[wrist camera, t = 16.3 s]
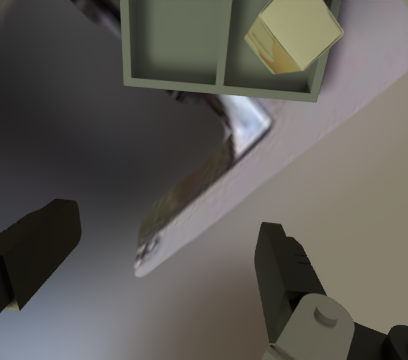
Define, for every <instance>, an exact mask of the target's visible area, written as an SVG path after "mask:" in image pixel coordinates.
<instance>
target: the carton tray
mask: <svg viewBox="0 0 408 360" xmlns="http://www.w3.org/2000/svg"><path fill="white" fill-rule="evenodd" d="M269 1H270V0H120V8H121V31H122V52H123V71H124V73H123V75H124V85H125V86H136V87H147V88H158V89H169V90H181V91H192V92H203V93H215V94H226V95H237V96H248V97H260V98H271V99H282V100H294V101H305V102H317V98H318V94H319V90H320V86H321V82H322V78H323V74H324V70H325V66H326V62H327V58H328V54H329V50H330V48H329V49H328V50H326V51H325V52H324V53H323V54H322V55H321V56H320V57H319V58H317V59H316V60H315V61H314V62H313V63H312V64H310V65H309V66H308V67H307V68H306V69H305V70H303V71H298V72H289V73H280V74H272V73H271V72H270V70H269V69H268V68H267V67H266V66H265V65H264V64H263V62H262V61H261V60H260V59H259V58H258V56H257V55H256V54H255V53H254V52H253V50H252V49H251V48H250V46H249V45H248V44H247V42H246V41H245V40H244V37H245V35H246V34H247V32H248V30H249V29H250V27H251V25H252V24H253V22H254V21H255V19H256V18H257V16H258V14H259V13H260V12H261V11H262V9H263V8H264V7H265V6H266V5H267V4H268V2H269ZM323 1H324V3H325V4H326V6H327V7H328V9H329V10H330V12H331V13H332V15H333V16H334V18H335V19H336V20H337V18H338V14H339V10H340V6H341V2H342V0H323Z"/></svg>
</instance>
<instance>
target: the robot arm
mask: <svg viewBox="0 0 408 360" xmlns="http://www.w3.org/2000/svg"><path fill="white" fill-rule="evenodd" d="M80 238H81V223H80V216H79V208H78V204H77V202H76V201H73V200H64V199H54V200H53V201H51V202H50V203H49V204H47V205H46V206H44V207H43V208H41V209H39V210H37V211H34V212H32V213H29V214H27V215H26V216H24V217H23V218H21V219H20V220H18V221H17V223H14V224H13V225H11V226H10V227H8V228H7V230H4V231H2V232H1V233H0V313H1V311H2V310H3V309H7V310H15V311H20V310H21V309H22V308H23V307H24V305H25V304H26V303H27V302H28V301H29V300H30V299H31V297H32V296H33V295H34V294H35V293H36V292H37V291H38V289H39V288H40V287H41V286H42V285H43V284H44V283H45V281H46V280H47V279H48V278H49V277H50V276H51V275H52V273H53V272H54V271H55V270H56V269H57V268H58V267H59V265H60V264H61V263H62V262H63V261H64V260H65V259H66V257H67V256H68V255H69V254H70V253H71V252H72V251H73V249H74V248H75V247H76V246H77V245H78V243H79V241H80ZM254 263H255V270H256V275H257V280H258V286H259V291H260V296H261V302H262V307H263V312H264V317H265V323H266V328H267V333H268V339H269V343H275V345H274V346H273V345H270V347H269V348H268V349H267V351H266V352H265V354H264V355H263V357H262V359H261V360H408V326H405V325H396V326H394V327H392V328H391V330H390V331H389V333H388V335H386V334H383V333H380V332H378V331H375V330H373V329H370V328H368V327H365V326H362V325H360V324H358V323H355V322H354V321H353V319H352V317H351V316H350V314H349V313H348V311H347V310H346V309H345V308H344V307H343V306H342V305H341V304H339V303H338V302H337V301H335V300H333V299H332V298H330V297H327V295H326V293H325V291H324V289H323V287H322V285H321V283H320V281H319V279H318V277H317V275H316V273H315V271H314V269H313V267H312V266H311V263H310V261H309V259H308V257H307V255H306V253H305V251H304V249H303V247H302V245H301V244H299V243H298V242H297V241H296V240H295V239H294V238H293V237H286V234H285V232H284V230H283V227H282V225H281V224H276V223H268V222H262V224H261V227H260V231H259V236H258V241H257V245H256V250H255V258H254Z"/></svg>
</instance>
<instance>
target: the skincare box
mask: <svg viewBox="0 0 408 360" xmlns="http://www.w3.org/2000/svg"><path fill="white" fill-rule="evenodd" d="M343 34H344V31H343V29H342V28H341V26H340V25H339V23H338V22H337V20H336V19H335V18H334V16H333V15H332V13H331V12H330V10H329V9H328V7H327V6H326V4H325V3H324V1H323V0H270V1H269V2H268V4H267V5H266V6H265V7H264V8H263V9H262V11H261V12H260V13H259V14H258V16H257V18H256V19H255V21H254V22H253V24H252V25H251V27H250V29H249V30H248V32H247V34H246V35H245V37H244V40H245V41H246V42H247V44H248V45H249V46H250V48H251V49H252V50H253V52H254V53H255V54H256V55H257V56H258V58H259V59H260V60H261V61H262V62H263V64H264V65H265V66H266V67H267V68H268V69H269V70H270V72H271V73H272V74H280V73H289V72H298V71H303V70H305V69H306V68H307V67H308V66H309V65H310V64H312V63H313V62H314V61H315V60H316V59H317V58H319V57H320V56H321V55H322V54H323V53H324V52H325V51H326V50H328V49H329V48H330V47H331V46H332V45H333V44H334V43H335V42H336V41H338V40H339V39H340V38H341V37H342V36H343Z"/></svg>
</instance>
